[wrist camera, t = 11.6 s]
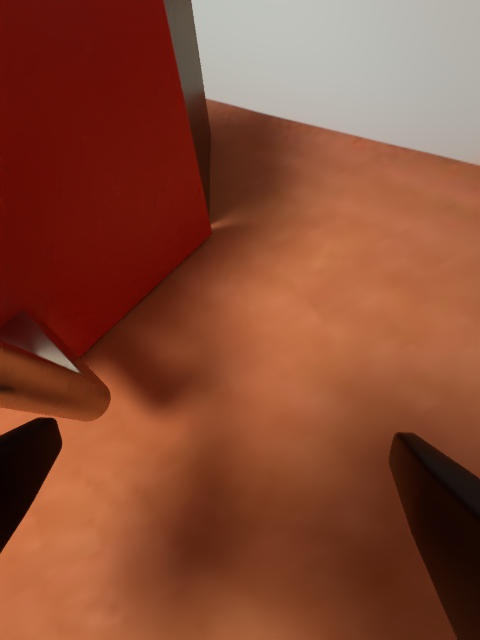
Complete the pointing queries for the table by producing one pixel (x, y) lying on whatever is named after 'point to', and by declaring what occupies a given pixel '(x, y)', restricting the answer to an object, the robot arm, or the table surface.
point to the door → (86, 188)
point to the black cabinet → (191, 83)
